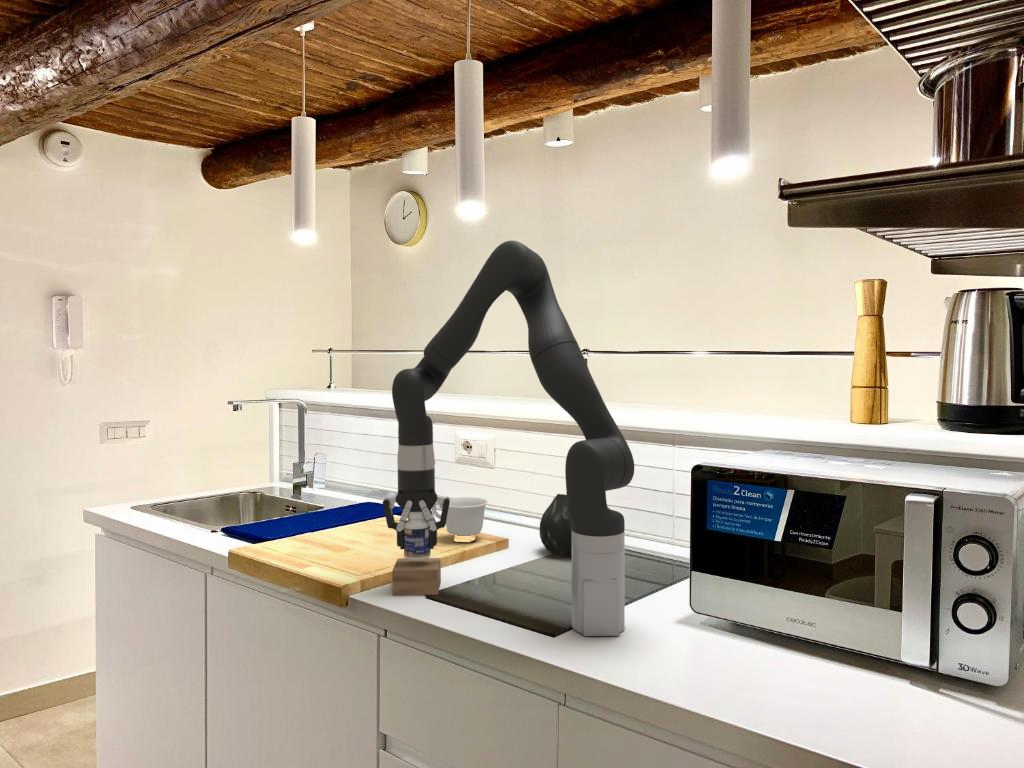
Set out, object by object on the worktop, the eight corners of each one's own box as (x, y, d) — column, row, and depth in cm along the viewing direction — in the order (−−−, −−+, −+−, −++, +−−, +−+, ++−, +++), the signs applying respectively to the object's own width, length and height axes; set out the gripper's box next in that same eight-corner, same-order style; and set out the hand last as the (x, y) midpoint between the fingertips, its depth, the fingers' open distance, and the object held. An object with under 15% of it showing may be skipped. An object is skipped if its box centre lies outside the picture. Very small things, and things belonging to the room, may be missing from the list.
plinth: (437, 594, 156) (437, 570, 156) (392, 595, 156) (392, 570, 156) (440, 581, 165) (440, 557, 165) (398, 581, 165) (397, 558, 165)
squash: (622, 530, 187) (586, 479, 192) (587, 545, 175) (549, 491, 181) (586, 561, 194) (552, 512, 200) (550, 578, 183) (515, 524, 188)
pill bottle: (400, 560, 159) (399, 512, 158) (409, 553, 164) (409, 507, 163) (425, 561, 157) (424, 513, 157) (434, 554, 162) (433, 508, 162)
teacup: (441, 532, 209) (441, 495, 208) (494, 536, 204) (494, 498, 204) (422, 543, 197) (422, 504, 197) (478, 548, 193) (478, 507, 192)
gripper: (378, 469, 156) (379, 553, 156) (450, 468, 156) (451, 552, 157) (383, 463, 163) (384, 544, 164) (452, 463, 164) (453, 543, 164)
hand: (417, 547), depth 160 cm, fingers closed on pill bottle, 5 cm apart
